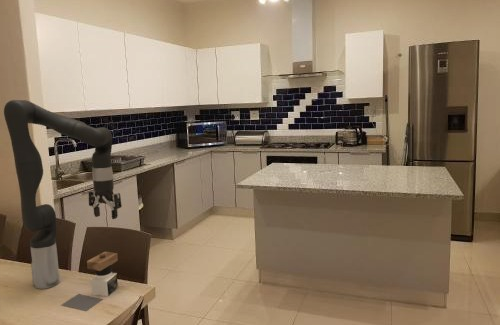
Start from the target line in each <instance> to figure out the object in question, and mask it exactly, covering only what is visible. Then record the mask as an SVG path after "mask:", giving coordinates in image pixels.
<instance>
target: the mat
mask: <svg viewBox="0 0 500 325" xmlns="http://www.w3.org/2000/svg"><path fill="white" fill-rule="evenodd" d="M103 300H104V298H99V297H95V296H90V295H86V294H81V293H78V294H76V295H75V296H73V297H70V299H68V300H66V301H65V302H63V303H61V304H60V306H62V307H66V308H70V309H74V310H79V311H82V312H88V311H89V310H90V309H92V308H93V307H95V306H96V305H97V304H99V303H101V302H102V301H103Z"/></svg>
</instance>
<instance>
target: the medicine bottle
mask: <svg viewBox="0 0 500 325" xmlns="http://www.w3.org/2000/svg"><path fill="white" fill-rule="evenodd" d="M94 271H95V276H94V277H93V278H91V279H90V283H91V284H90V285H91V295H95V296H103V297H109V296H110V295H112V294H113V292H115V291H116V290H117V289H118V288H119V287H118V273H117V272H113V269H112V264H111V265H110V266H108V267H106V268H104V269H103V270H101V271H97V270H94Z"/></svg>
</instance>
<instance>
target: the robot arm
mask: <svg viewBox="0 0 500 325" xmlns="http://www.w3.org/2000/svg"><path fill="white" fill-rule="evenodd" d="M3 116H4V120H5V123H6V128H7V130H8V133H9V137H10V141H11V147H12V152H13V157H14V158H13V159H14V166H15V172H16V175H17V181H18V188H19V194H20V208H21V211H20V212H21V220H22V224H23V226H24V228H25V230H26V231H28V232H30V233H32V232H36V231H37V233H35V235H33V236H32V237H31V239H30V240H29V244H30V254H31V255H30V256H31V263H30V268H31V276H32V284H33V286H34V287H35V288H36V289H38V290H40V289H41V290H44V289H50V288H52V287H55V286H57V285H58V284H60V280H61V279H60V270H59V269H60V268H59V261H58V260H59V259H58V249H57V236H58V230H57V215H56V211H55V208H54V207H53V206H52V205H50V204H48V203H46V204H45V203H44V204H40V205H37V203H36V202H37V192H38V191H39V190H38V189H39V187H40V184H41V182H42V179H43V175H44V167H43V161H42V156H41V154H40V152H39V150H38V149H37V146H36V145H35V143H34V141H33V140H32V138H31V135H30V130H29V124H31V125H32V124H33V125H40V126H43V127H47V128H48V129H51V130H53V131H55V132H57V133H59V134H60V135H64V136H66V137H69V138H73V139H77V140H79V141H80V142H83V144H84V143H85V144H87V145H89V146H92V147H94V152H93V153H92V155H91V162H92V164H91V165H92V182H93V183H92V184H93V186H92V187H93V190H92V191H89V192H88V206H89V207H92V208H93V215H94V217H95V218H98V217H100V216H101V211H100V205H101V204H106V205H107V206H108V207H109V208H110V210H111V219H112V220H115V219H117V218H118V215H119V214H118V209H121V208H122V206H123V205H122V198H121V193H119V192H118V193H114V188H115V186H114V174H113V173H114V172H113V168H112V167H113V166H112V157H111V156H112V147H113V135H112V133H111V131H110V130H109V128H107V127H105V126H103V127H93V126H90V125H88V124H87V123H86V122H83V121H80V120H78V119H74V118H72V117H68V116H65V115H63V114H58V113H55V112H52V111H50V110H48V109H45V108H43V107H41V106H39V105H38V104H36V103H34V102H32V101H29V100H25V99H23V100H22V99H21V100H20V99H12V100H9V101H8V102H6V103H5V105H4V108H3Z"/></svg>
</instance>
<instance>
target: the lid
mask: <svg viewBox="0 0 500 325" xmlns="http://www.w3.org/2000/svg"><path fill="white" fill-rule="evenodd" d="M118 259H119V256H118V253H116V252H112V251H111V252H110V251H104V252H101V253H100V254H98V255H96V256H94V257H92V258H90V259H88V260H87V261H86V265H87V269H88V270H92V271H95V270H97V271H101V270H103V269H104V268H106V267H108V266H110V265H111V266H112V265H113V264H115V263H116V262H118Z"/></svg>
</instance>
